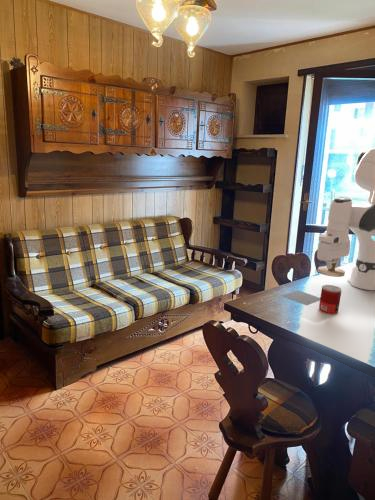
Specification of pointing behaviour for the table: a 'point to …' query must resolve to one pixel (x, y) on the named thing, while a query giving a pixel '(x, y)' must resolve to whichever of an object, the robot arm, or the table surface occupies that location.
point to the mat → (301, 297)
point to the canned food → (330, 299)
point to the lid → (331, 271)
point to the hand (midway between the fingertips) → (331, 268)
